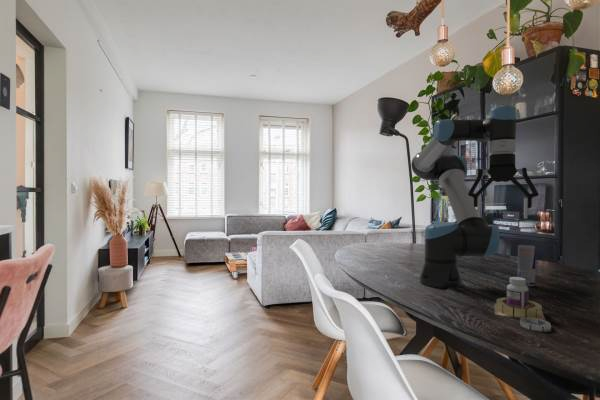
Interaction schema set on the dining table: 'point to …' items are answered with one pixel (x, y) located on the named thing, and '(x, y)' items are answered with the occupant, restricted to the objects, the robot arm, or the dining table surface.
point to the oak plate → (511, 316)
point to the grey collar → (535, 324)
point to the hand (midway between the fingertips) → (501, 217)
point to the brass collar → (519, 309)
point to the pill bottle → (518, 293)
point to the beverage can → (526, 264)
